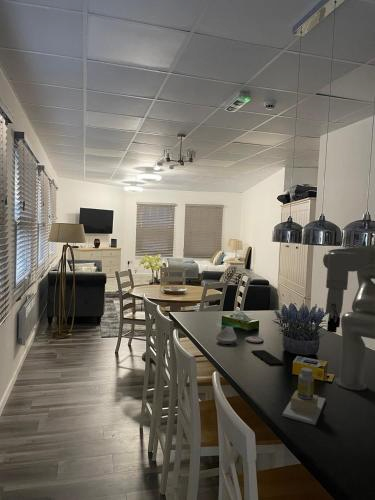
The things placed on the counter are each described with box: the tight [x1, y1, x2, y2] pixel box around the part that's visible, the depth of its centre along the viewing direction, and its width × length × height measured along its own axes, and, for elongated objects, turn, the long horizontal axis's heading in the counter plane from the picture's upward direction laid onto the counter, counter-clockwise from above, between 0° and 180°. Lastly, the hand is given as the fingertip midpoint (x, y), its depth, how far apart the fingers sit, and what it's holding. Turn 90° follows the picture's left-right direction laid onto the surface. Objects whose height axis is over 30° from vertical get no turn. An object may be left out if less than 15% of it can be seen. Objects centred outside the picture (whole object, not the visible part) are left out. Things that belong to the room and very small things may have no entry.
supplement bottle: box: [297, 367, 315, 399], centre depth 135 cm, size 5×5×10 cm
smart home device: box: [251, 349, 284, 367], centre depth 191 cm, size 8×2×20 cm
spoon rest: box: [215, 325, 237, 345], centre depth 220 cm, size 24×12×7 cm, turn 166°
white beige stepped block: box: [282, 389, 326, 426], centre depth 137 cm, size 22×11×5 cm, turn 152°
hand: (333, 329), depth 142 cm, fingers open, 9 cm apart
